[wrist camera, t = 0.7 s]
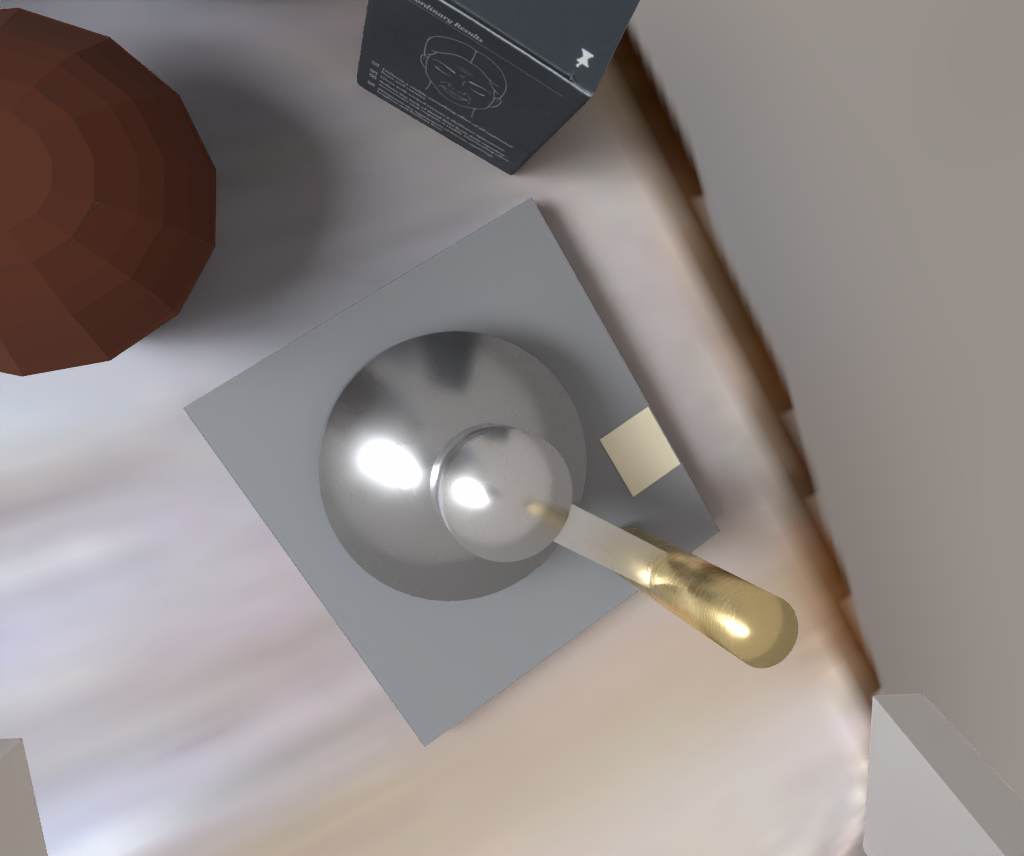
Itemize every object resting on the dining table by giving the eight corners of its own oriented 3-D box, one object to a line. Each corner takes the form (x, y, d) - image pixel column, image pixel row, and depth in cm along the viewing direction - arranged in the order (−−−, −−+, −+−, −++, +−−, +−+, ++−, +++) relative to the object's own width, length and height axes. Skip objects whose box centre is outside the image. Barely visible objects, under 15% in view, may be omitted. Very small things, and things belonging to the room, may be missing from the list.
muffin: (201, 69, 31) (155, -61, 22) (264, 339, 33) (246, 330, 23) (-133, 103, 29) (-358, -29, 19) (-48, 396, 30) (-217, 413, 20)
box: (565, 69, 35) (670, -51, 25) (510, 179, 35) (594, 104, 25) (410, -33, 33) (456, -209, 23) (351, 84, 33) (371, -42, 23)
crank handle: (269, 522, 31) (250, 604, 21) (394, 285, 32) (437, 246, 21) (597, 669, 36) (719, 798, 25) (702, 457, 36) (866, 496, 26)
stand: (188, 406, 32) (182, 408, 31) (522, 204, 35) (532, 196, 34) (419, 731, 36) (424, 747, 34) (704, 524, 39) (720, 530, 37)
